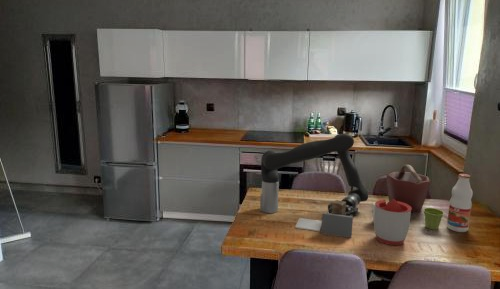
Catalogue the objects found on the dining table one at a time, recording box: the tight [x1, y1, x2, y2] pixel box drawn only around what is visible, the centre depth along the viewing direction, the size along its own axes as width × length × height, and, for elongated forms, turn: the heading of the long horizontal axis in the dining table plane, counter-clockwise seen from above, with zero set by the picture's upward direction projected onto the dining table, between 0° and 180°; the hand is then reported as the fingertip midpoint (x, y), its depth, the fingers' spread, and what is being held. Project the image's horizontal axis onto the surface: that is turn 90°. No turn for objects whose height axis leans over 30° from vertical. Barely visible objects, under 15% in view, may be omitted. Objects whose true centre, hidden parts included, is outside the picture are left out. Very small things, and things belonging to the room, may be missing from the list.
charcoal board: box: [320, 212, 354, 239], centre depth 174 cm, size 14×2×10 cm, turn 72°
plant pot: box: [423, 207, 445, 231], centre depth 185 cm, size 9×9×9 cm
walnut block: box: [331, 199, 346, 216], centre depth 180 cm, size 5×5×14 cm
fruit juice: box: [446, 173, 474, 233], centre depth 182 cm, size 9×9×28 cm
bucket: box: [386, 164, 431, 214], centre depth 210 cm, size 24×22×25 cm
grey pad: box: [294, 217, 322, 233], centre depth 186 cm, size 12×12×1 cm
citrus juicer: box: [373, 199, 412, 246], centre depth 170 cm, size 16×17×20 cm
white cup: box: [372, 201, 388, 224], centre depth 190 cm, size 8×8×10 cm
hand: (337, 213), depth 179 cm, fingers open, 8 cm apart
